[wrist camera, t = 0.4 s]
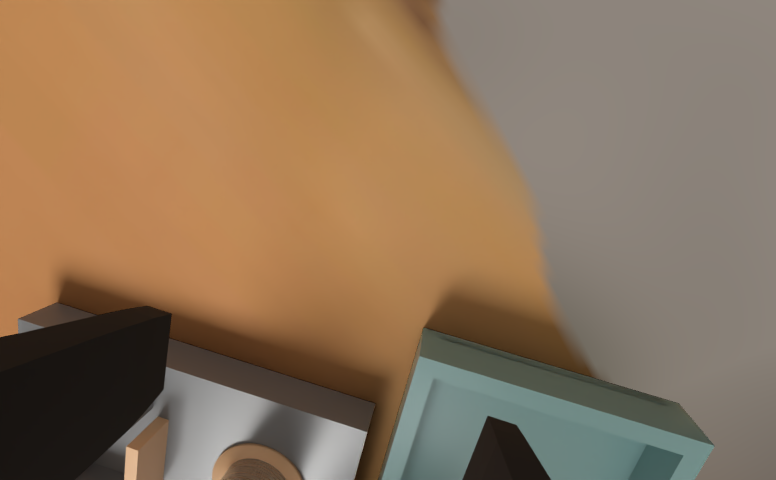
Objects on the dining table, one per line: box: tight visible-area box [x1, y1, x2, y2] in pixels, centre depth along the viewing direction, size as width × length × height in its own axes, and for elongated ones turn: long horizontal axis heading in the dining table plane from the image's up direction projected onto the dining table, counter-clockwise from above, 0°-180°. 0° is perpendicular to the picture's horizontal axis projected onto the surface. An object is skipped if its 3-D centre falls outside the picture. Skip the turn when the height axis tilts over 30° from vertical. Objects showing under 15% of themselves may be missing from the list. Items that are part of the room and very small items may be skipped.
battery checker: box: [18, 303, 375, 480], centre depth 20 cm, size 10×18×4 cm, turn 76°
